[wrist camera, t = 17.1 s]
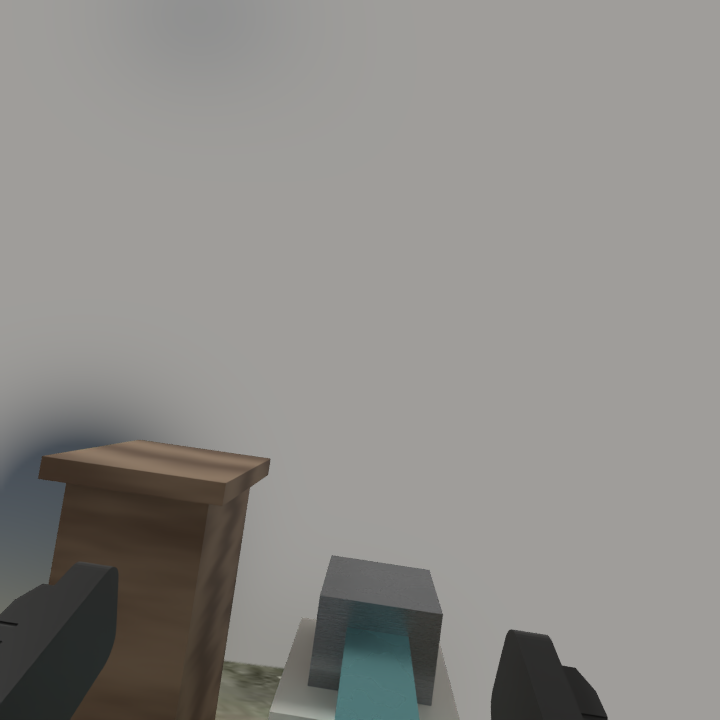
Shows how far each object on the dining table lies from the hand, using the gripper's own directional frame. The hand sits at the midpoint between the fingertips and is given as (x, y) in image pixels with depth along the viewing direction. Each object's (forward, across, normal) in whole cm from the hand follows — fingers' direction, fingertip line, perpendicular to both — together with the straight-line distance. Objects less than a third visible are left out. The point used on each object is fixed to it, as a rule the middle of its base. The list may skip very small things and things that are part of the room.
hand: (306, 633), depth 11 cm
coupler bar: (+14, -3, +16) cm, 22 cm away
